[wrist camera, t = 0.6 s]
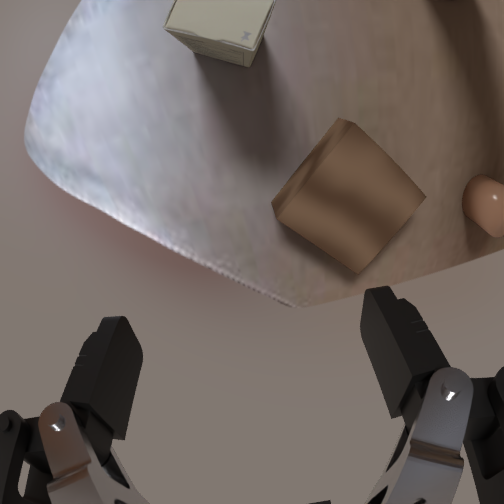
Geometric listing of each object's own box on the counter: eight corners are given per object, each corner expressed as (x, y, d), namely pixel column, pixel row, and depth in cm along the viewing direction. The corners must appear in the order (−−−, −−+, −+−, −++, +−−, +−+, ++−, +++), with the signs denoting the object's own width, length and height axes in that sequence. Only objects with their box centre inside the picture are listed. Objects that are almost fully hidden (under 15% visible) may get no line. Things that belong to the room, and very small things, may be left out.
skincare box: (264, 32, 24) (283, -1, 14) (249, 69, 26) (259, 54, 16) (203, 15, 23) (185, -27, 12) (188, 51, 25) (160, 28, 14)
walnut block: (337, 117, 29) (354, 122, 25) (405, 182, 33) (426, 196, 29) (270, 201, 34) (276, 219, 30) (344, 253, 38) (358, 274, 33)
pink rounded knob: (480, 164, 32) (508, 178, 26) (498, 194, 34) (523, 210, 29) (454, 200, 34) (480, 219, 29) (474, 227, 37) (497, 246, 31)
